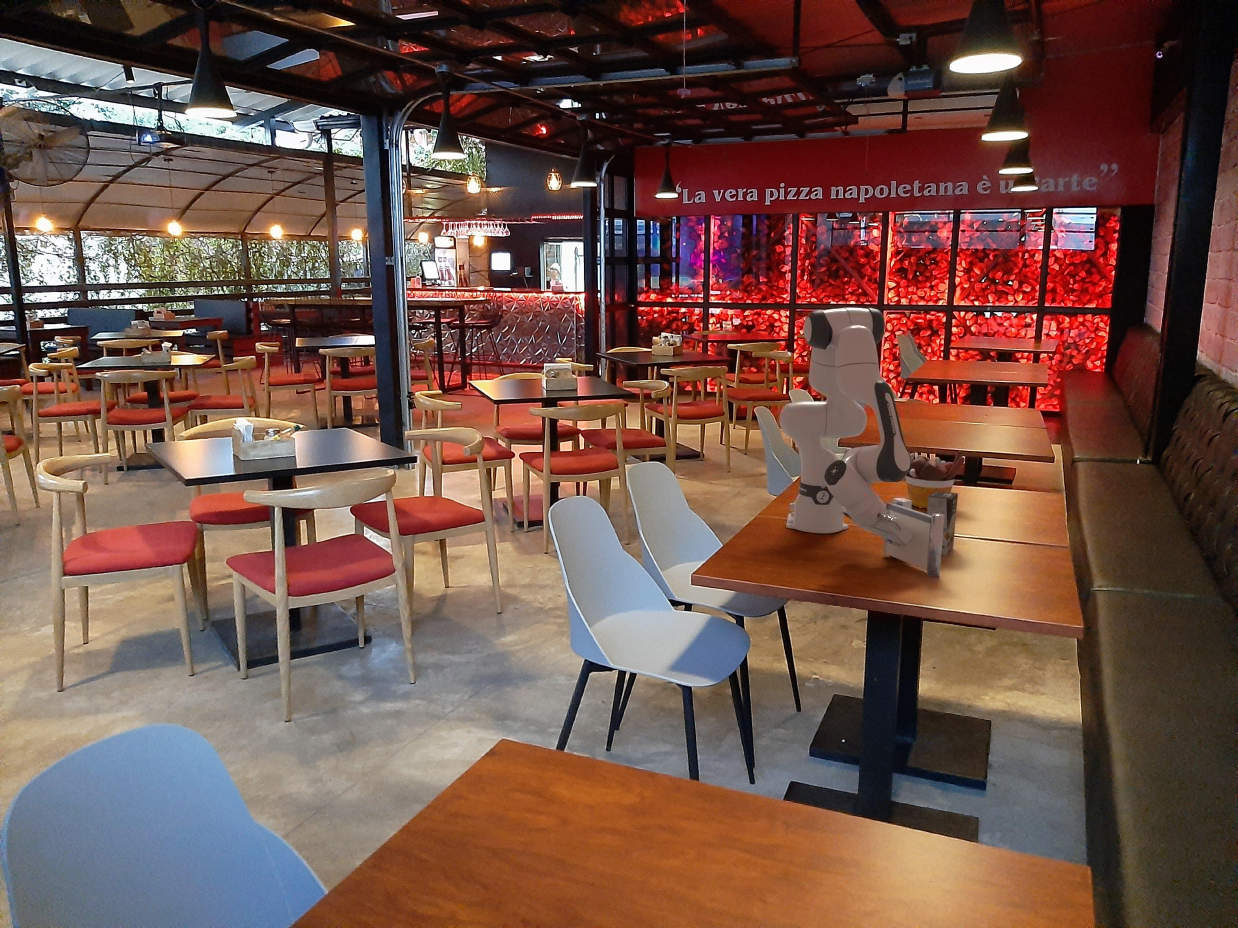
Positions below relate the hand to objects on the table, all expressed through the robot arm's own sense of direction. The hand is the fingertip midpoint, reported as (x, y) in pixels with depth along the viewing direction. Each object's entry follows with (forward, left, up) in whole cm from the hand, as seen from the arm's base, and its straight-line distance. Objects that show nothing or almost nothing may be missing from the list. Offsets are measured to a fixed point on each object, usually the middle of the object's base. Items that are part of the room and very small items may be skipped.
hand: (895, 543), depth 241 cm
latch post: (-5, +3, -5) cm, 8 cm away
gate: (+2, +3, -4) cm, 5 cm away
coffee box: (-13, +16, -5) cm, 21 cm away
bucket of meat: (-67, +30, -5) cm, 73 cm away
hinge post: (+11, +7, -5) cm, 14 cm away
